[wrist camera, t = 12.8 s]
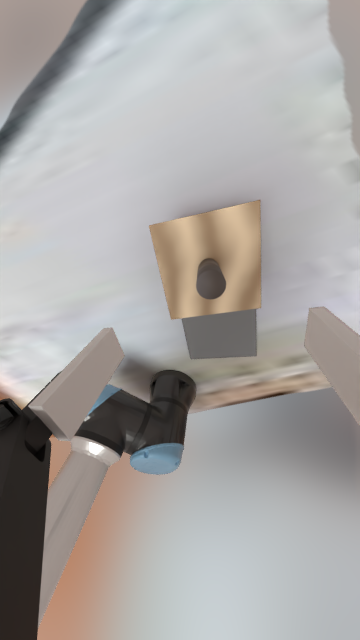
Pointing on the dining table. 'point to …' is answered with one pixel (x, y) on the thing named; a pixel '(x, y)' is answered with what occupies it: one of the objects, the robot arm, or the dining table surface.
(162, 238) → the lid
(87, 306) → the dining table surface
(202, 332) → the mat
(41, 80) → the dining table surface
